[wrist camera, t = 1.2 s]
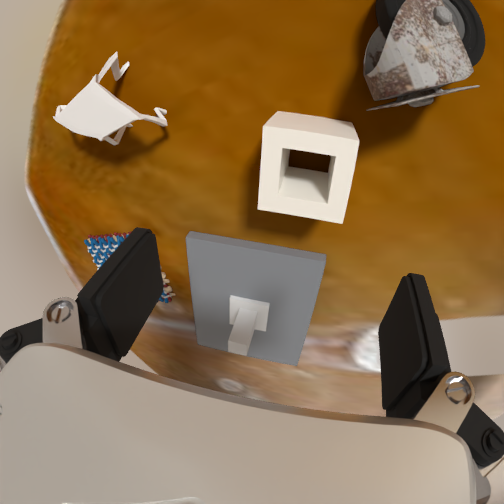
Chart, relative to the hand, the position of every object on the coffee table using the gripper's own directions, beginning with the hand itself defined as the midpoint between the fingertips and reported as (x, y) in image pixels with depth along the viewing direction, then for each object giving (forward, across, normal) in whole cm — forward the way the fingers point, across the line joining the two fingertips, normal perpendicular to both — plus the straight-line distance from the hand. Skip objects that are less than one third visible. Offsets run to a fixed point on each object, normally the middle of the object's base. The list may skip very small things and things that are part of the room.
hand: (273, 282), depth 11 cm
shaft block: (+16, +3, +19) cm, 25 cm away
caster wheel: (+17, -7, -12) cm, 22 cm away
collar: (+16, -1, 0) cm, 16 cm away
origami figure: (+17, +18, -4) cm, 25 cm away
